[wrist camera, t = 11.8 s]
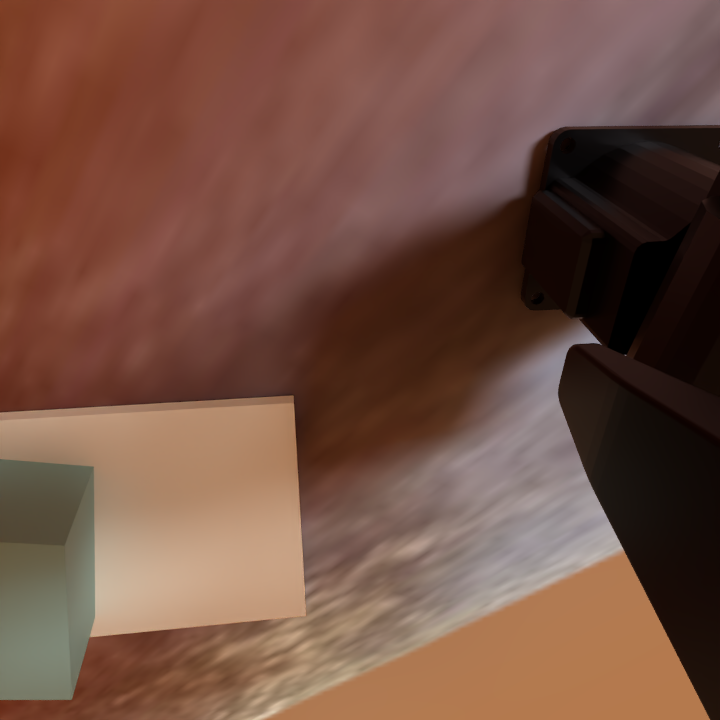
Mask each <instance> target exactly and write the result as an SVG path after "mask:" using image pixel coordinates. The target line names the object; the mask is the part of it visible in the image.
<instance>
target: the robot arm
mask: <svg viewBox="0 0 720 720" xmlns="http://www.w3.org/2000/svg"><path fill="white" fill-rule="evenodd" d="M565 138H570V145H569V147H568V148H567V149H566V150H563V151H561V150H560V145H561V143H562V141H563V140H564V139H565ZM719 142H720V125H690V126H591V127H563V128H559V129H558V130H556V131H555V132H554V133H553V134H552V136H551V137H550V140H549V143H548V148H547V153H546V159H545V164H544V170H543V175H542V181H541V186H540V190H539V191H538V192H537V193H536V194H535V195H534V197H533V198H532V204H531V210H530V215H529V221H528V227H527V232H526V238H525V244H524V249H523V255H522V265H523V266H524V267H525V268H526V269H525V275H524V280H523V286H522V291H521V299H522V301H523V303H524V304H525V305H526V307H527V308H529V309H530V310H553V309H561V310H562V311H563V312H564V313H565V314H566V316H567V317H568V318H570V319H579V320H580V321H581V322H582V323H583V324H584V325H585V326H586V327H587V329H588V330H589V331H590V332H591V333H592V334H593V335H594V336H595V338H596V339H597V340H598V341H599V342H600V343H601V344H602V345H603V346H602V345H600V344H596V343H590V344H575V345H573V346H572V347H570V348H569V350H568V352H567V355H566V359H565V363H564V367H563V371H562V375H561V379H560V384H559V389H558V396H559V402H560V405H561V408H562V410H563V413H564V416H565V418H566V421H567V424H568V426H569V429H570V432H571V435H572V437H573V440H574V443H575V445H576V448H577V451H578V453H579V456H580V459H581V462H582V464H583V467H584V469H585V472H586V474H587V477H588V479H589V482H590V484H591V486H592V488H593V490H594V492H595V494H596V496H597V498H598V500H599V502H600V504H601V506H602V508H603V510H604V512H605V514H606V516H607V518H608V520H609V522H610V524H611V526H612V528H613V529H614V531H615V533H616V535H617V537H618V539H619V541H620V543H621V545H622V547H623V549H624V551H625V553H626V555H627V557H628V559H629V561H630V563H631V565H632V567H633V569H634V571H635V573H636V575H637V576H638V579H639V581H640V583H641V584H642V586H643V588H644V590H645V592H646V594H647V596H648V598H649V600H650V602H651V604H652V606H653V608H654V610H655V612H656V614H657V616H658V618H659V620H660V622H661V624H662V626H663V628H664V630H665V632H666V633H667V636H668V637H669V640H670V642H671V643H672V645H673V647H674V649H675V651H676V653H677V655H678V657H679V659H680V661H681V663H682V665H683V667H684V669H685V671H686V673H687V675H688V677H689V679H690V681H691V683H692V685H693V687H694V689H695V691H696V693H697V695H698V696H699V699H700V701H701V702H702V704H703V706H704V708H705V710H706V712H707V714H708V716H709V718H710V720H720V148H718V144H719ZM538 292H540V295H539V297H538V298H536V299H534V300H531V297H532V295H534V294H535V293H538ZM625 355H626V356H625Z"/></svg>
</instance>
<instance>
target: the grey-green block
mask: <svg viewBox="0 0 720 720" xmlns="http://www.w3.org/2000/svg"><path fill="white" fill-rule="evenodd" d="M94 619H95V533H94V467H93V466H80V465H68V464H55V463H43V462H30V461H18V460H5V459H0V700H72V697H73V694H74V690H75V687H76V683H77V680H78V676H79V673H80V669H81V666H82V662H83V658H84V655H85V651H86V648H87V644H88V641H89V637H90V634H91V630H92V627H93V623H94Z"/></svg>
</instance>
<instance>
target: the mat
mask: <svg viewBox="0 0 720 720" xmlns="http://www.w3.org/2000/svg"><path fill="white" fill-rule="evenodd" d="M0 459H5V460H18V461H30V462H43V463H55V464H68V465H80V466H93V467H94V533H95V619H94V623H93V627H92V630H91V634H90V637H97V636H107V635H117V634H127V633H138V632H148V631H158V630H168V629H178V628H188V627H198V626H208V625H218V624H228V623H239V622H249V621H259V620H269V619H279V618H289V617H299V616H306V603H305V586H304V569H303V551H302V534H301V517H300V499H299V482H298V464H297V447H296V430H295V412H294V395H292V396H275V397H258V398H241V399H224V400H206V401H189V402H172V403H155V404H138V405H121V406H104V407H87V408H70V409H53V410H36V411H19V412H2V413H0Z"/></svg>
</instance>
